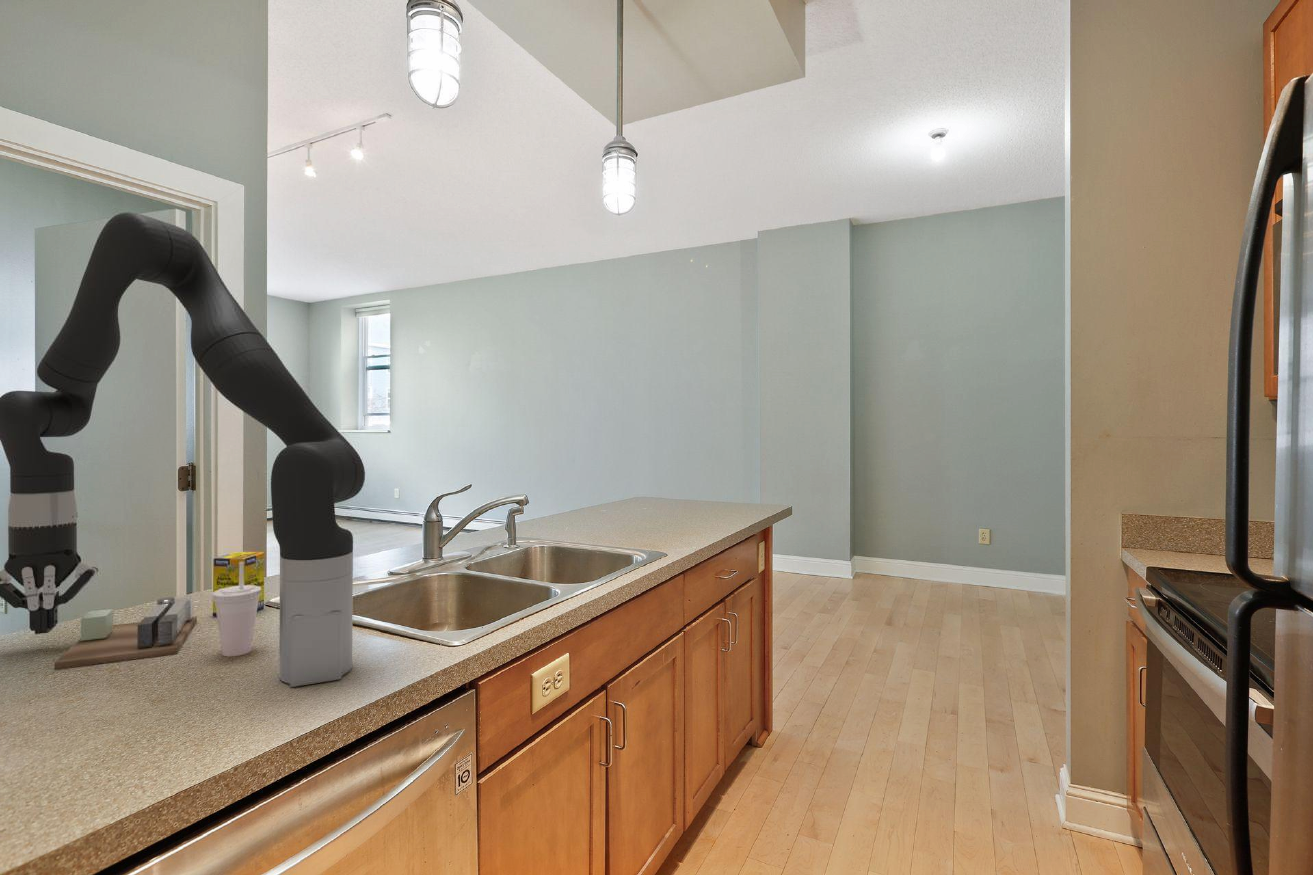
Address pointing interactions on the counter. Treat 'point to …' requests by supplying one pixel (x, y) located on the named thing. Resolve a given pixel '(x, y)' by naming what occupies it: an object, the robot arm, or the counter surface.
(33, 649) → the counter surface
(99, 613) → the tab
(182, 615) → the fixed jaw
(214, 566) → the supplement box
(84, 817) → the counter surface
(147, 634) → the bar
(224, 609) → the smoothie
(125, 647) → the walnut board
